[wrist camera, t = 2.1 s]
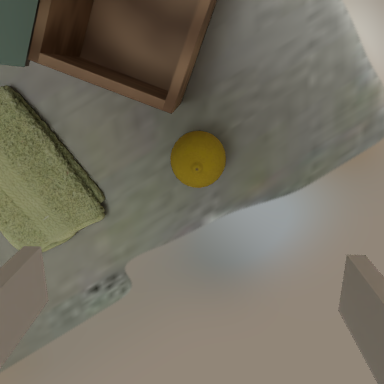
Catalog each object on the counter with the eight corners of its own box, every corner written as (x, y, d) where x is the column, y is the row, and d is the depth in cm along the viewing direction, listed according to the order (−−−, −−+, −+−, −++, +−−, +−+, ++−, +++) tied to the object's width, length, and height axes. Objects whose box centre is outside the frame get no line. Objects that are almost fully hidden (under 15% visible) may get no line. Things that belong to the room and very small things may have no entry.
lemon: (170, 169, 41) (161, 190, 34) (180, 120, 40) (172, 132, 32) (217, 179, 42) (219, 203, 34) (229, 131, 40) (234, 146, 32)
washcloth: (35, 258, 46) (22, 271, 43) (-65, 141, 42) (-86, 147, 39) (117, 206, 44) (110, 217, 41) (19, 76, 40) (3, 77, 36)
